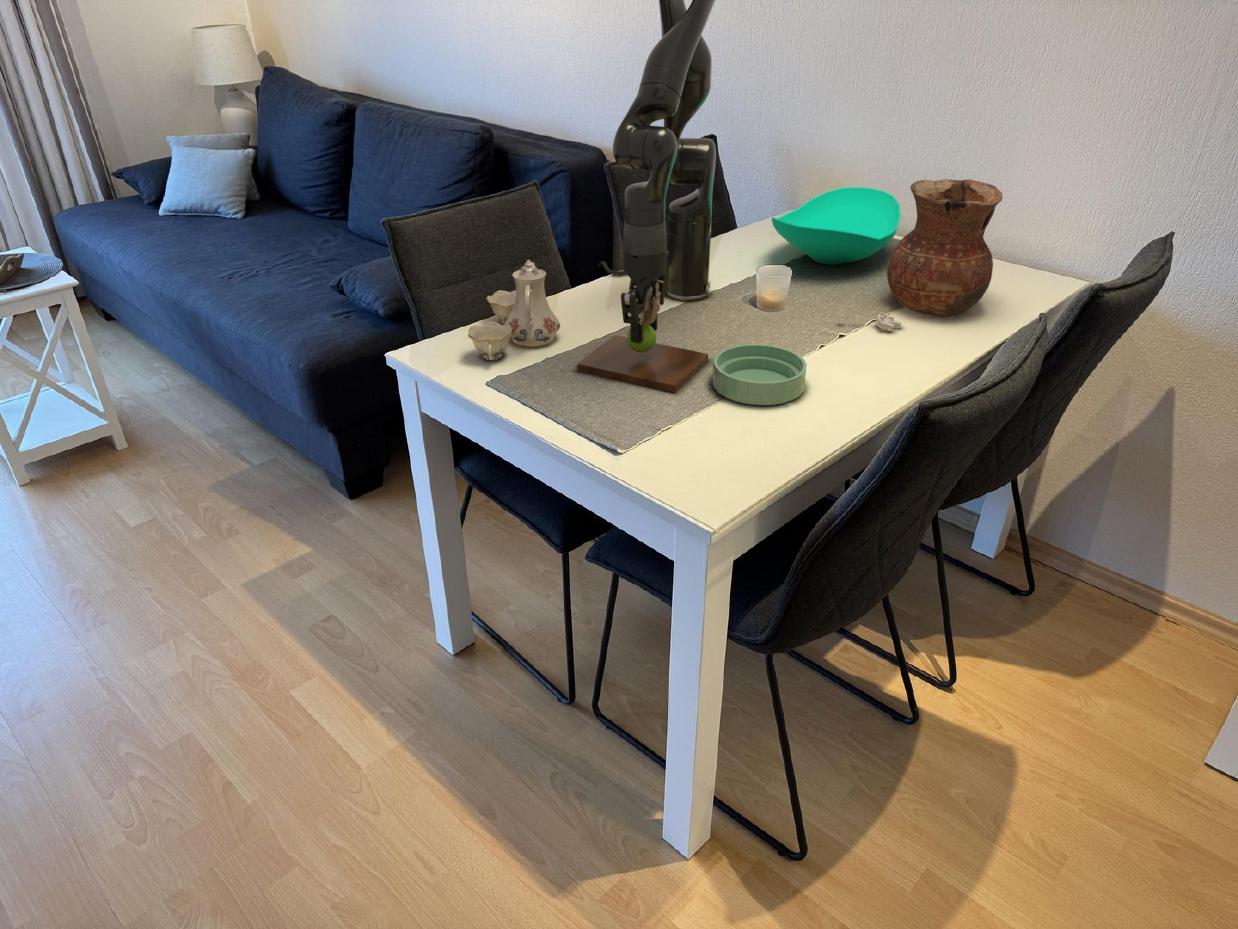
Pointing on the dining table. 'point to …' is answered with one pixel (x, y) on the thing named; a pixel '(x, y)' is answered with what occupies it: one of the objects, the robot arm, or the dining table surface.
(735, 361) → the bowl
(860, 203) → the table top decor
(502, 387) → the dining table surface
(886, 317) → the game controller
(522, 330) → the chinaware
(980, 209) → the jug
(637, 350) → the snail figurine
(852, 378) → the dining table surface
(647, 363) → the walnut board
